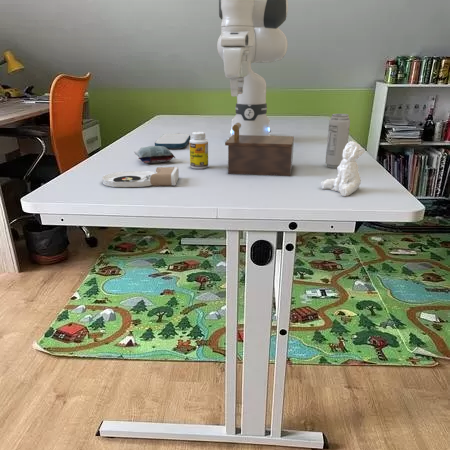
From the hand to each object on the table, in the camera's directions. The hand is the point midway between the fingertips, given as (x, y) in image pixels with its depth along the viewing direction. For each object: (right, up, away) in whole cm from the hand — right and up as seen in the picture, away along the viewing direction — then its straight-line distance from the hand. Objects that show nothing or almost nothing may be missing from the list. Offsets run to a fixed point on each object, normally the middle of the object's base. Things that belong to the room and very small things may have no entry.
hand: (237, 95), depth 128 cm
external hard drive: (-23, +2, +47) cm, 52 cm away
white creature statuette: (+27, -30, -13) cm, 42 cm away
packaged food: (-26, -14, +19) cm, 35 cm away
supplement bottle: (-11, -18, +11) cm, 24 cm away
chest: (+7, -19, +8) cm, 22 cm away
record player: (-27, -26, -5) cm, 37 cm away
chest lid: (+7, -12, +5) cm, 14 cm away
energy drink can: (+30, -17, +12) cm, 37 cm away
